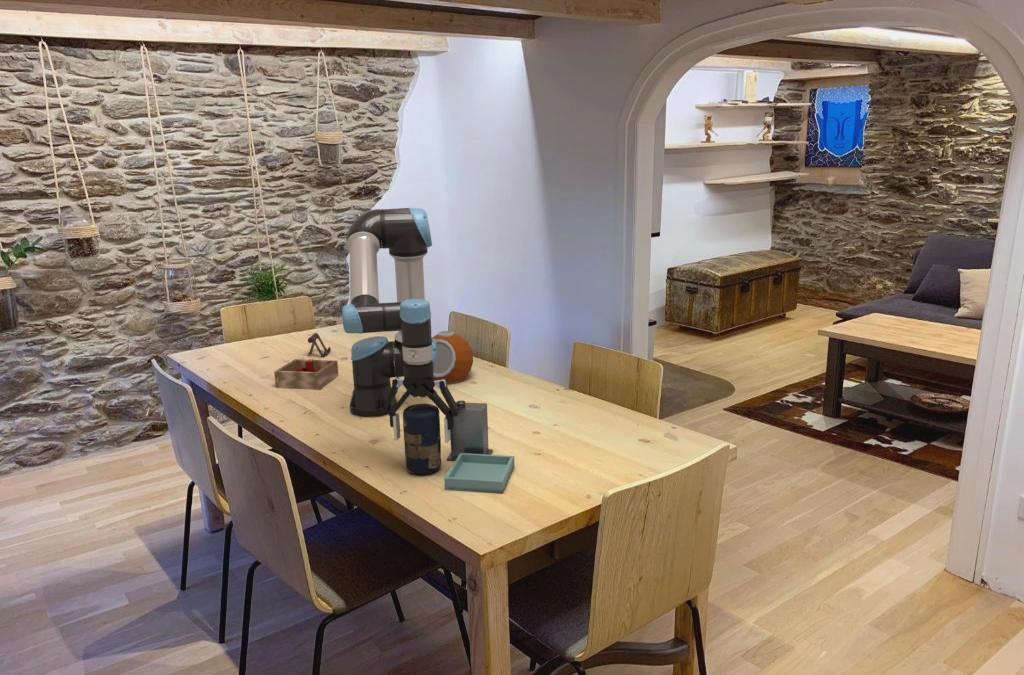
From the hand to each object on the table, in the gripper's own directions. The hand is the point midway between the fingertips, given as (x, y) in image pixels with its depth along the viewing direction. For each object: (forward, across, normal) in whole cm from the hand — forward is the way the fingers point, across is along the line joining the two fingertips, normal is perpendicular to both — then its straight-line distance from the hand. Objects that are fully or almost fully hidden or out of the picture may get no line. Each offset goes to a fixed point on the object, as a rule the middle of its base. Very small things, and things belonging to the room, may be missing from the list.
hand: (422, 439), depth 193 cm
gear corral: (+7, -65, +67) cm, 94 cm away
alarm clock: (+8, -15, +77) cm, 79 cm away
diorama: (+8, -63, +69) cm, 94 cm away
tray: (+8, +16, -3) cm, 18 cm away
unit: (+8, +10, +10) cm, 17 cm away
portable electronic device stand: (+7, -77, +102) cm, 128 cm away
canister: (+8, 0, 0) cm, 9 cm away
